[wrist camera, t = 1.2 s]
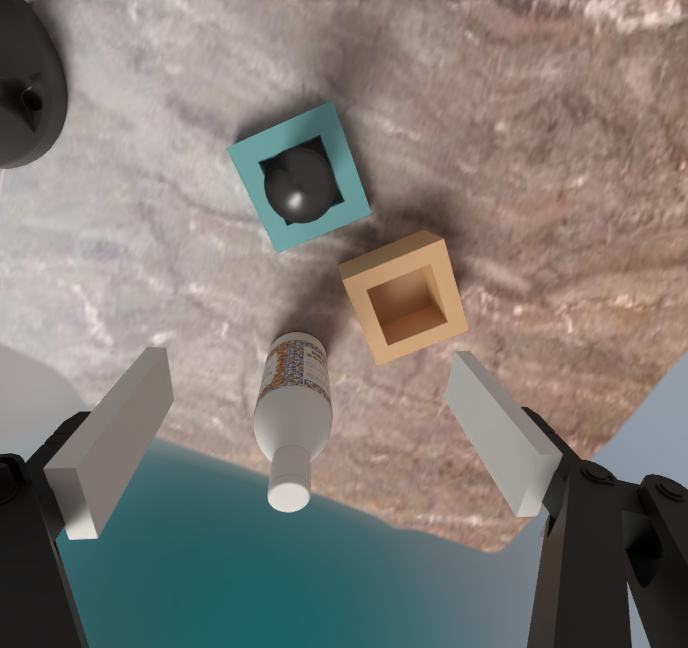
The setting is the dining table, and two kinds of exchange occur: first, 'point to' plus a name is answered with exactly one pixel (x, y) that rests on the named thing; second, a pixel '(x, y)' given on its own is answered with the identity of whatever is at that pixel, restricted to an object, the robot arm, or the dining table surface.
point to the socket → (404, 295)
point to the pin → (299, 185)
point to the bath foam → (293, 416)
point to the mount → (295, 134)
